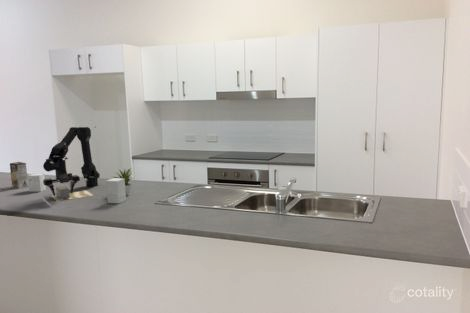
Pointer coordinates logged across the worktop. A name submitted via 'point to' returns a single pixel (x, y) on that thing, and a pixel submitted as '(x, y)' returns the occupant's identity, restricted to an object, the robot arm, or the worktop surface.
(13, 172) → the coffee box
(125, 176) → the house plant
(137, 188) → the worktop surface
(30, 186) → the small box
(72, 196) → the board
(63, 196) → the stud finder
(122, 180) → the supplement box
